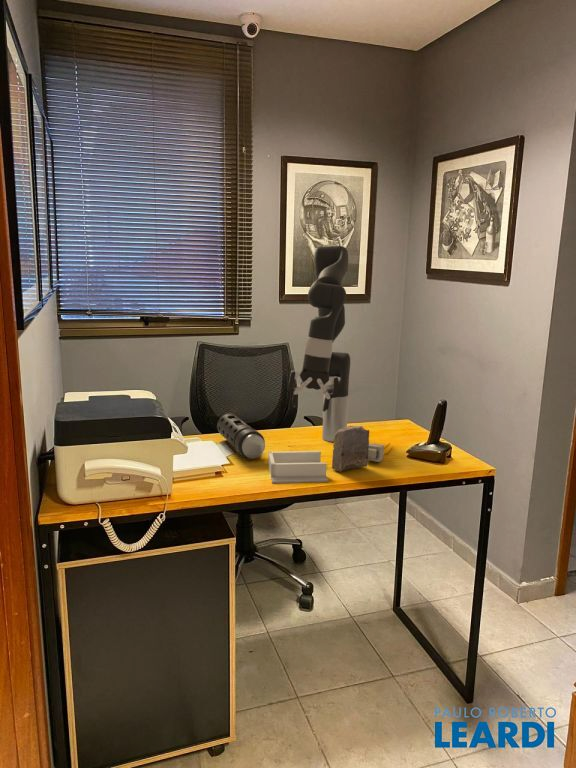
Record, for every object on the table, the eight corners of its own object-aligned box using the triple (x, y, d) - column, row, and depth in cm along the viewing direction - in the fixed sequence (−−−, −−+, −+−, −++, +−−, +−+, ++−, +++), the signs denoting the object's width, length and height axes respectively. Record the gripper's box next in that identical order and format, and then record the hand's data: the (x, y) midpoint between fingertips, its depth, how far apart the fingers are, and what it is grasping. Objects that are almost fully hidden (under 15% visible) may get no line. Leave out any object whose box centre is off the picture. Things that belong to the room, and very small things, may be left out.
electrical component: (377, 452, 214) (378, 439, 213) (393, 455, 211) (394, 441, 211) (362, 460, 191) (363, 445, 191) (379, 462, 189) (381, 447, 189)
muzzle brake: (240, 438, 218) (240, 411, 216) (267, 461, 193) (267, 431, 191) (216, 440, 214) (216, 413, 212) (240, 464, 189) (240, 434, 187)
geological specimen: (358, 464, 191) (360, 421, 188) (369, 470, 186) (371, 425, 182) (331, 469, 186) (332, 425, 182) (341, 475, 180) (343, 429, 177)
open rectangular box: (268, 464, 189) (268, 451, 188) (319, 463, 191) (320, 450, 190) (272, 483, 173) (272, 469, 172) (328, 482, 175) (328, 468, 174)
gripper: (340, 355, 167) (332, 409, 170) (292, 349, 167) (284, 403, 169) (344, 359, 160) (334, 415, 163) (293, 352, 159) (285, 408, 162)
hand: (309, 409), depth 166 cm, fingers open, 8 cm apart
